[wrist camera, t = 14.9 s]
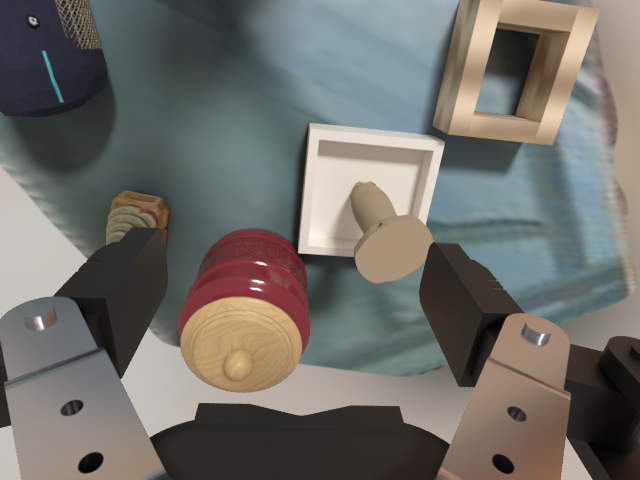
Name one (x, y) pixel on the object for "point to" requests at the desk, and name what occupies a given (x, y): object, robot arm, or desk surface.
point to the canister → (246, 312)
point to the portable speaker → (48, 57)
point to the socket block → (543, 77)
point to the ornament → (136, 214)
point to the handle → (386, 236)
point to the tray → (361, 166)
